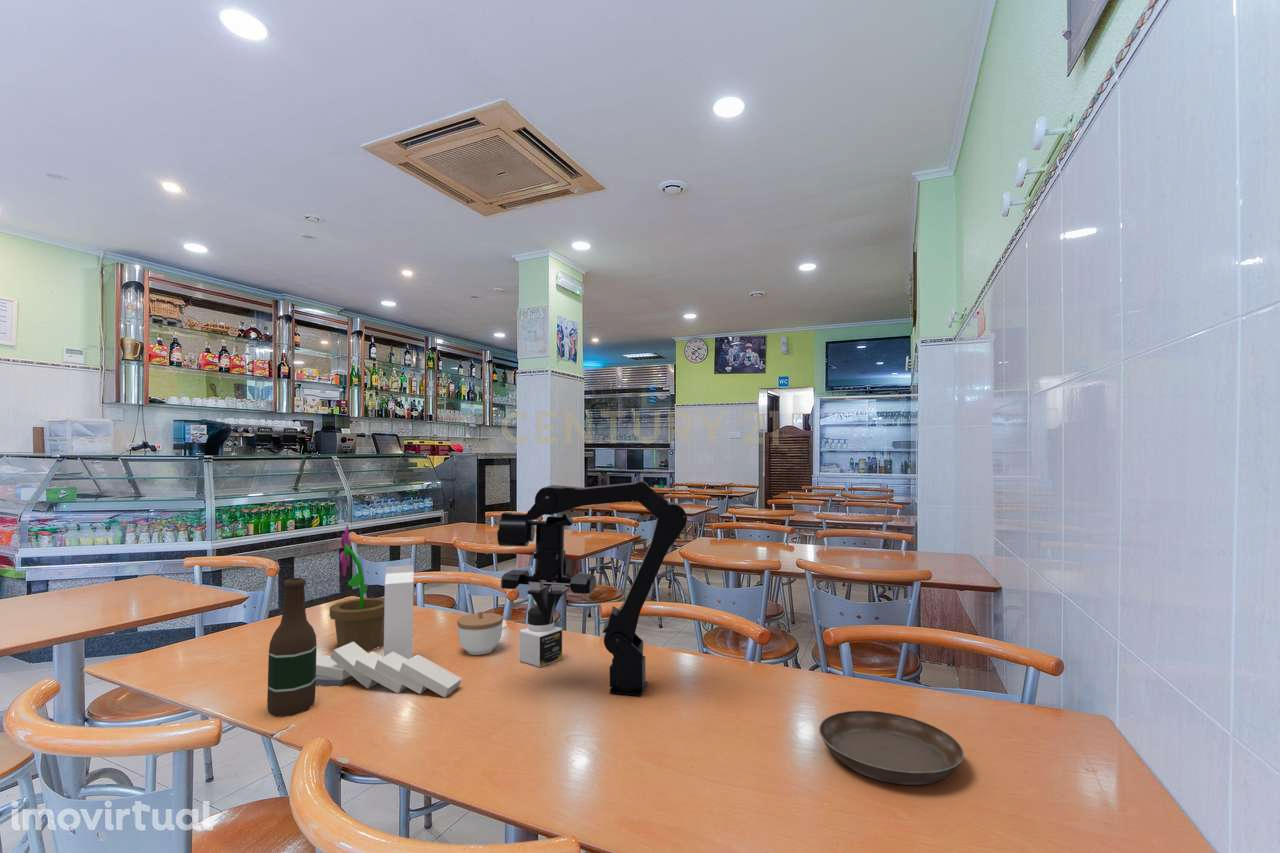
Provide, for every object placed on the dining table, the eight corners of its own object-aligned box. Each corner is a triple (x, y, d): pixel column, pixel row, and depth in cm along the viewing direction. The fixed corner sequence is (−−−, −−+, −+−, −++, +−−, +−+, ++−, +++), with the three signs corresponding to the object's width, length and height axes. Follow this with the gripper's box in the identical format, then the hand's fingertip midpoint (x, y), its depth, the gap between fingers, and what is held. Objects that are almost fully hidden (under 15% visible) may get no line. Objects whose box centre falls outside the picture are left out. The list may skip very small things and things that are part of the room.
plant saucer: (846, 716, 105) (846, 698, 105) (976, 753, 92) (975, 732, 92) (798, 763, 89) (797, 741, 89) (946, 815, 76) (945, 789, 76)
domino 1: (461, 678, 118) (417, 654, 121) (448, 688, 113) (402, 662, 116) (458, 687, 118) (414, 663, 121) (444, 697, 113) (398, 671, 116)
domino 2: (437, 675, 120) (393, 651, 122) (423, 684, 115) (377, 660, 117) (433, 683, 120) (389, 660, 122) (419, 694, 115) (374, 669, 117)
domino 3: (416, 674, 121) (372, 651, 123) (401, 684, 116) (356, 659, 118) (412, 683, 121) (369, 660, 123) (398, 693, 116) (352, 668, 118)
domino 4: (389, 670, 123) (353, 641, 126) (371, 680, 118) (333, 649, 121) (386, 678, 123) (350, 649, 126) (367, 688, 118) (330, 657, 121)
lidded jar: (454, 647, 144) (454, 609, 144) (497, 641, 148) (498, 604, 149) (460, 661, 134) (460, 620, 134) (506, 654, 138) (507, 614, 139)
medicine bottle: (540, 668, 129) (540, 613, 130) (518, 661, 134) (518, 608, 134) (562, 659, 135) (562, 606, 136) (541, 652, 139) (541, 602, 140)
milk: (384, 661, 134) (386, 564, 135) (412, 658, 136) (413, 563, 137) (383, 670, 128) (384, 569, 130) (412, 666, 130) (413, 567, 132)
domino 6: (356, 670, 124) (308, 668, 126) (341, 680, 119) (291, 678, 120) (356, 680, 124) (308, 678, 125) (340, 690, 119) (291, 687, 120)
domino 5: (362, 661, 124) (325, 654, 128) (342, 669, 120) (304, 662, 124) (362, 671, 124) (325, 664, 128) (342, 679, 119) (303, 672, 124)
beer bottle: (293, 719, 104) (296, 584, 106) (256, 715, 106) (260, 582, 107) (324, 701, 112) (327, 575, 113) (290, 698, 114) (293, 574, 115)
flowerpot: (334, 640, 149) (337, 523, 151) (394, 635, 154) (396, 521, 155) (322, 658, 136) (325, 529, 137) (388, 652, 140) (390, 527, 142)
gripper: (603, 543, 125) (602, 616, 125) (521, 539, 129) (520, 610, 128) (589, 551, 114) (588, 631, 114) (500, 547, 118) (498, 625, 117)
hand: (548, 623), depth 118 cm, fingers closed
